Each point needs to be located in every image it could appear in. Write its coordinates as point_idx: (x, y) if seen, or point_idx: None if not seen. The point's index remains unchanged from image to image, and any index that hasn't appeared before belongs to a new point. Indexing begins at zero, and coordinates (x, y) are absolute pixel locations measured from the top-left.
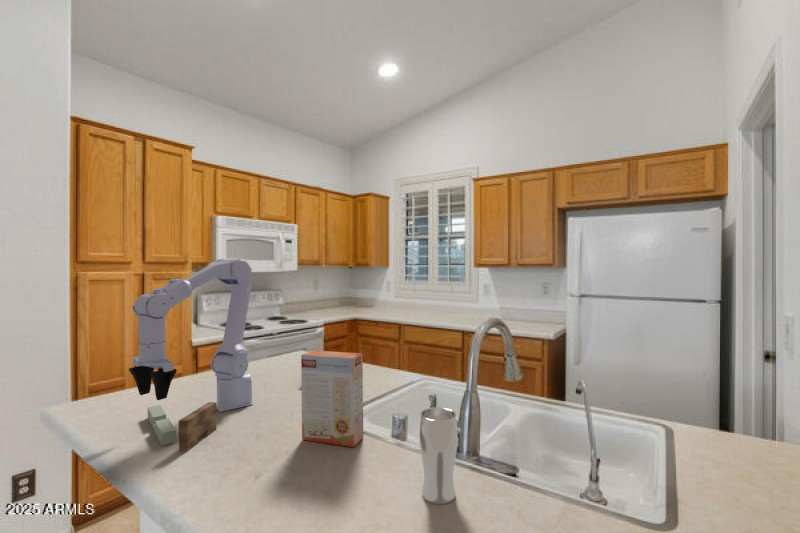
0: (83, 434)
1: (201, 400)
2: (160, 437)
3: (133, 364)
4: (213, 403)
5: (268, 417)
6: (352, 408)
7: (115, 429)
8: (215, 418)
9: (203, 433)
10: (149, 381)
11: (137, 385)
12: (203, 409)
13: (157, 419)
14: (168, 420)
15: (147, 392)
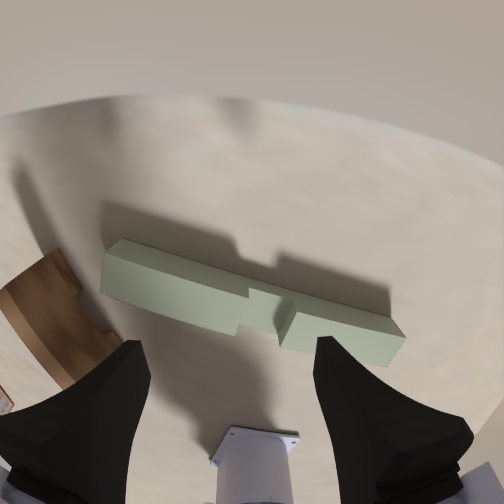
0: (446, 153)
1: None
2: (136, 251)
3: (482, 466)
4: None
5: None
6: None
7: (402, 222)
8: None
9: (104, 336)
10: (330, 426)
11: (353, 367)
12: (56, 378)
13: (289, 317)
14: (209, 325)
15: (315, 369)
